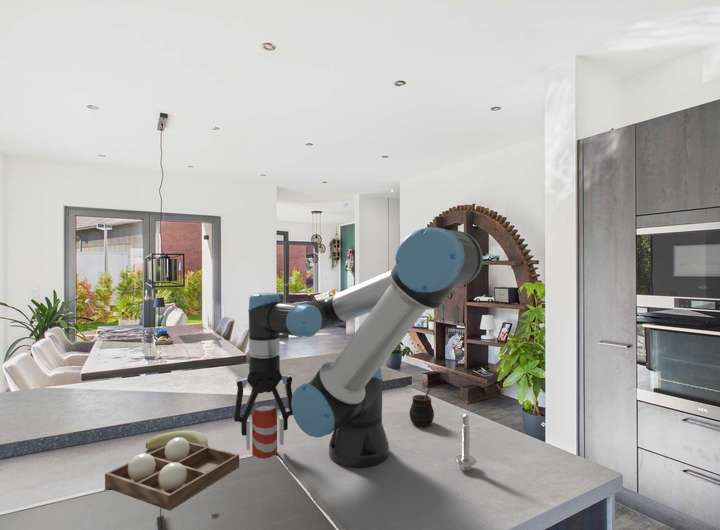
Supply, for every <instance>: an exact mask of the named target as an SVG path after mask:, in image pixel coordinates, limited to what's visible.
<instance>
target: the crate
mask: <svg viewBox="0 0 720 530" xmlns="http://www.w3.org/2000/svg"><path fill="white" fill-rule="evenodd" d="M188 443H189V446H190V451H189V454H188V456H187V457H186V458H184V459H182V460H180V461H178V462H177V463H180V464H182V465H183V466H184V467H185V468H186V471H187V478H186V481H185V483H184V484H183V486H182V487H181V488H179V489H177V490H175V491H172V492H168V491H165V490H163V489H162V488H161V487H160V485H159V482H158V476H159V473H160V471H161V470H162V468H163V467H164V466H166V465H167V464H169V463H172V462H171V461H169V460H168V459H167V458H166V456H165V447H166V446H164V447H161V448H158V449H154V450H153V451H151V452H149V453H147V454H150V455H151V456H153V457H154V459H155V462H156V468H155V471H154V473H153V474H152V475H151V476H149V477H147V478H145V479H143V480H141V481H135V480H133V479H131V478H130V476H129V474H128V465H129V463H130V461H129V462H127V463H125V464H123V465H121V466H118V467H116V468H114V469H112V470H109V471H108V472H106V473H104V488H106V489H109V490H111V491H115V492H116V493H120V494H121V495H124V496H125V495H126V496H128V497H131V498H133V499H135V500H139V501H141V502H144V503H147V504H150V505H151V506H155V507H158V508H160V509H164V510H166V511H169V512H171V511H172V510H174V509H175V508H177V507H179V506H180V505H181V504H183V503H185V502H186V501H188V500H190V499H192V498H193V497H194V496H196V495H197V494H199V493H201V492H203V491H204V490H206V489H207V488H208V487H210V486H213V484H215V483H216V482H219V481H220V480H221V479H223V478H224V477H226V476H228V475H229V474H231V473H233V472H234V471H236V470H237V469H239V468H240V454H238V453H233V452H230V451H226V450H223V449H219V448H215V447H211V446H208V445H207V446H204V445H200V444H196V443H192V442H188Z"/></svg>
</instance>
